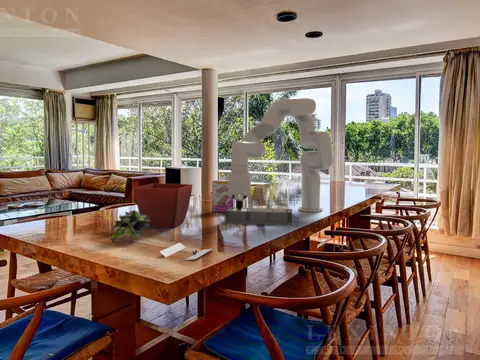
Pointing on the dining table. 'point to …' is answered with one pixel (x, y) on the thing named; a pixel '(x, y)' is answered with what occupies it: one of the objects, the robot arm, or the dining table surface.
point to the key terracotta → (259, 208)
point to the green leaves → (130, 225)
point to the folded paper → (179, 247)
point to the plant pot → (163, 203)
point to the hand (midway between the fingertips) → (239, 209)
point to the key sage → (279, 209)
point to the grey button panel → (259, 217)
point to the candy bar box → (221, 196)
